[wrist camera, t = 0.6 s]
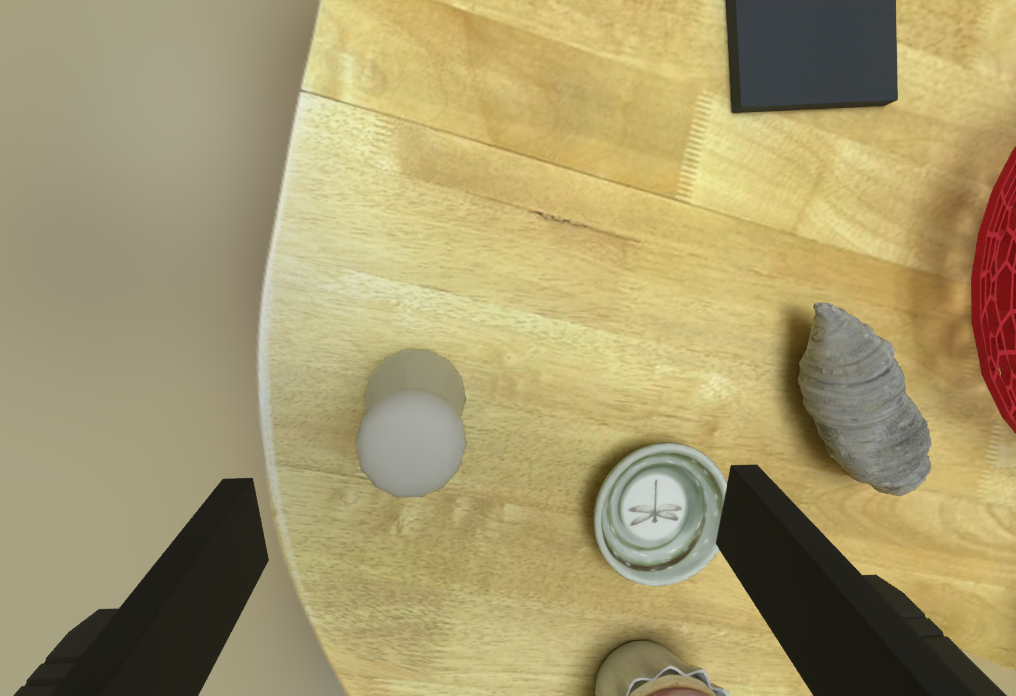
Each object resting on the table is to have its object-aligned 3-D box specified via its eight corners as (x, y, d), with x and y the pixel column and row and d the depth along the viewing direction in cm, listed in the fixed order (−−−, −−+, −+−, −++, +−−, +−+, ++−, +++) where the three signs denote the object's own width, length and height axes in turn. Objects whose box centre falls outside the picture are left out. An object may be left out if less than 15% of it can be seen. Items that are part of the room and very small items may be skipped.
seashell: (862, 274, 33) (977, 332, 26) (861, 417, 40) (951, 492, 33) (770, 312, 33) (859, 378, 26) (785, 447, 40) (859, 527, 33)
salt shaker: (384, 334, 31) (356, 354, 18) (472, 358, 32) (506, 394, 19) (358, 424, 31) (313, 507, 18) (447, 445, 32) (463, 538, 19)
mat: (721, -80, 32) (731, -92, 31) (880, -76, 34) (894, -88, 33) (731, 113, 33) (741, 107, 32) (884, 105, 35) (898, 99, 34)
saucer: (701, 420, 35) (721, 428, 32) (721, 546, 36) (742, 563, 34) (571, 454, 33) (583, 465, 31) (597, 585, 35) (609, 605, 32)
